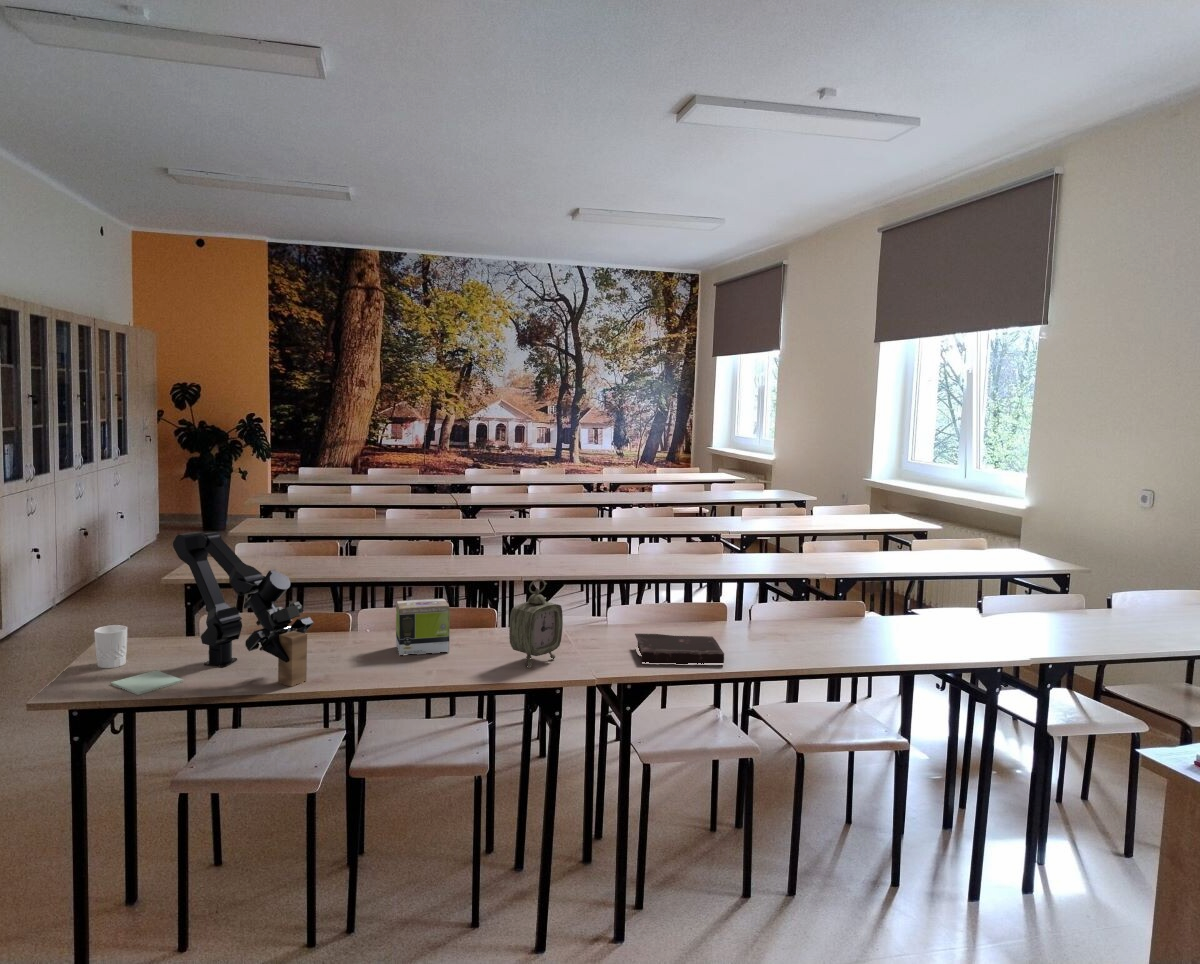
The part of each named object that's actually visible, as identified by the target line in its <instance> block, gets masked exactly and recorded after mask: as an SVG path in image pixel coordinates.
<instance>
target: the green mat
mask: <svg viewBox="0 0 1200 964" xmlns="http://www.w3.org/2000/svg"><path fill="white" fill-rule="evenodd" d="M183 681H184V679H182V678H179V677H177V676H174V675H170V674H168V673H165V672H163V671H160V670H151V671H148V672H145V673H141V674H137V675H133V676H130V677H126V678H122V679H118V680H115V681H110V685H111V684H112V685H111V686H114V687H116V686H117V687H116V688H119V689H121V688H122V690H124V689H125V690H124V691H126V690H127V692H129V693H133V694H135V695H142V694H145V693H150V692H153V691H156V690H160V689H163V688H166V687H171V686H173V685H177V684H180V682H181V683H183ZM159 688H160V689H159ZM155 689H156V690H155ZM152 690H153V691H152Z"/></svg>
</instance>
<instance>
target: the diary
mask: <svg viewBox="0 0 1200 964" xmlns="http://www.w3.org/2000/svg"><path fill="white" fill-rule="evenodd" d="M634 636H635V638H636V641H637V646H638V648H639V651H640V653H641V655H642V658H641V662H645V663H646V662H649V663H676V664H688V663H697V664H698V663H701V664H702V663H703V664H704V663H725V653H724V651H723V649H722V648H721V646H720V645H719V643H718V642H717V641H716V639H715V638H714V636H711V635H710V636H709V635H707V636H706V635H674V634H673V635H672V634H661V633H634Z"/></svg>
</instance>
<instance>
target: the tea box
mask: <svg viewBox="0 0 1200 964" xmlns="http://www.w3.org/2000/svg"><path fill="white" fill-rule="evenodd" d="M395 604H396V605H395V609H396V612H395V614H396V615H395V616H396V618H395V630H396V631H395V637H396V639H395V643H396V644H395V645H396V648H398V649H397V651H399V652H398V655H399V656H400V655H403V656H405V655H404V654H417V655H427V654H426V653H432V654H441V653H440V652H447V653H450V619H451V618H450V605H449V604H448V602H447V600H446V599H445V598H427V599H412V600H411V599H410V600H397V601H396V602H395Z"/></svg>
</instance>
